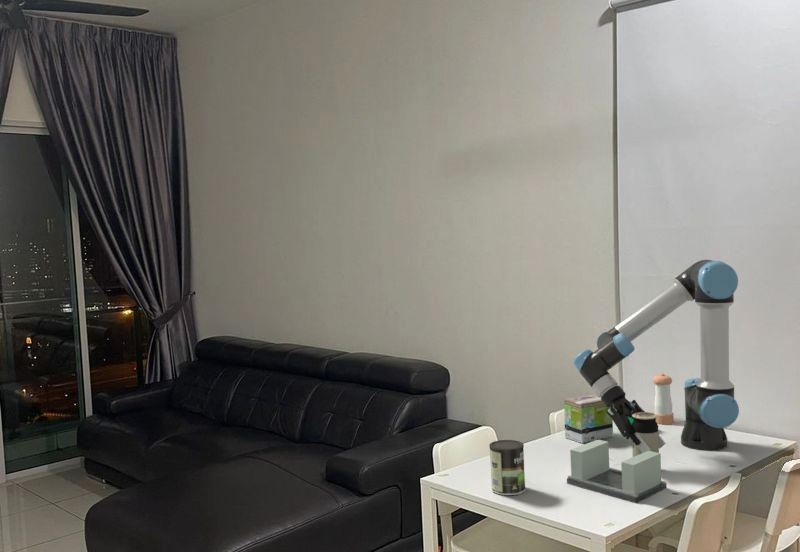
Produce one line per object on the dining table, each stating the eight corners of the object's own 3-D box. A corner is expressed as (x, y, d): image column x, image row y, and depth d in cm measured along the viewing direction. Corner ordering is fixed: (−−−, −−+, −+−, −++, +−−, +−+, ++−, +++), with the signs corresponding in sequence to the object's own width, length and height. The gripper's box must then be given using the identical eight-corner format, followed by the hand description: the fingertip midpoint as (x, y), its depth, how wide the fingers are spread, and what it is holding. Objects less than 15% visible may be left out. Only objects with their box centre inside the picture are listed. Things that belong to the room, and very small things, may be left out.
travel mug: (662, 468, 235) (660, 413, 233) (656, 476, 228) (654, 419, 227) (636, 465, 239) (635, 410, 238) (630, 472, 232) (628, 416, 231)
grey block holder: (571, 478, 226) (570, 449, 225) (598, 467, 235) (597, 439, 234) (634, 496, 209) (633, 465, 208) (661, 483, 218) (660, 453, 217)
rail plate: (567, 483, 226) (566, 476, 226) (598, 470, 236) (597, 463, 236) (636, 503, 208) (635, 495, 207) (666, 488, 218) (666, 481, 218)
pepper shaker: (671, 425, 282) (670, 375, 281) (652, 423, 286) (650, 374, 284) (675, 420, 288) (673, 372, 287) (656, 418, 292) (654, 371, 291)
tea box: (582, 444, 264) (581, 403, 263) (564, 438, 273) (562, 398, 272) (614, 436, 271) (612, 397, 270) (595, 431, 280) (593, 392, 279)
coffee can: (530, 486, 225) (528, 441, 224) (517, 498, 216) (515, 451, 215) (500, 482, 231) (497, 438, 230) (485, 493, 222) (483, 447, 221)
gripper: (620, 392, 250) (665, 448, 239) (583, 404, 237) (629, 463, 226) (634, 379, 246) (680, 435, 235) (596, 390, 233) (643, 450, 221)
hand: (655, 449), depth 230 cm, fingers closed on travel mug, 8 cm apart
